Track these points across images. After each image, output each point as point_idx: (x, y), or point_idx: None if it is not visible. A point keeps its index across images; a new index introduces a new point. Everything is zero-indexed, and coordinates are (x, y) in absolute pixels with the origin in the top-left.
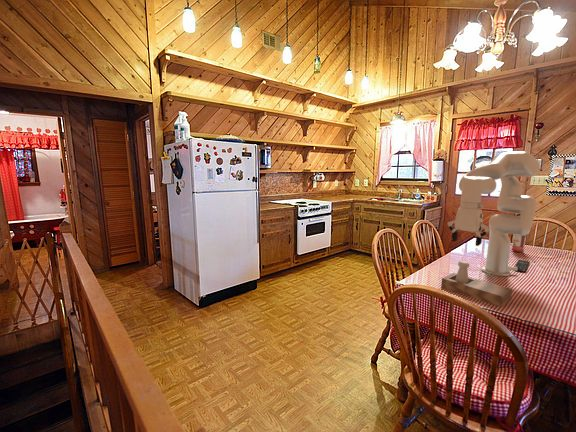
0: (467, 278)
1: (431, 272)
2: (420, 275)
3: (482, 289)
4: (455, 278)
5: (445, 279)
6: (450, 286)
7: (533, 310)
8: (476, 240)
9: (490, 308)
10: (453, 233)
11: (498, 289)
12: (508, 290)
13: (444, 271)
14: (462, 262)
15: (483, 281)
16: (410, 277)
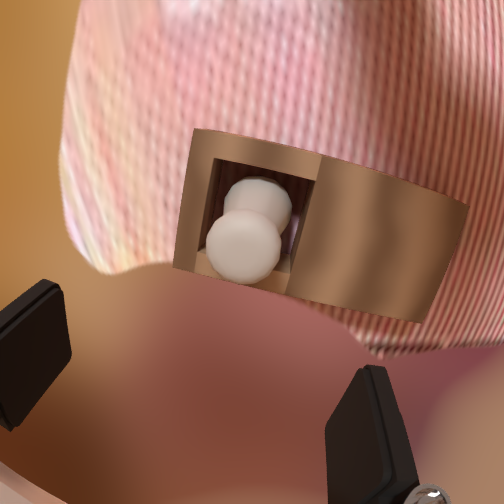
0: (283, 226)
1: (100, 83)
2: (79, 164)
3: (357, 299)
4: (217, 161)
5: (189, 271)
6: None
7: (488, 259)
8: (333, 486)
9: (375, 334)
10: (5, 420)
11: (419, 251)
12: (453, 235)
13: (144, 18)
14: (234, 276)
15: (359, 173)
16: (66, 221)
